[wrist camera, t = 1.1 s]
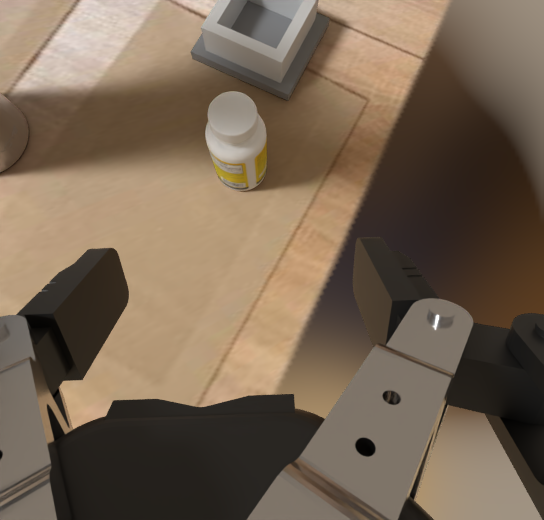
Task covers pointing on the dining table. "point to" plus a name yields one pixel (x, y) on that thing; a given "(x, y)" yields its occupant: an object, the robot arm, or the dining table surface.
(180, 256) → the dining table surface
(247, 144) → the supplement bottle
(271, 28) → the board
